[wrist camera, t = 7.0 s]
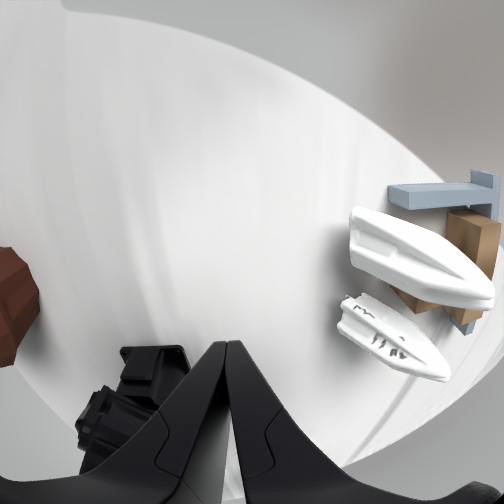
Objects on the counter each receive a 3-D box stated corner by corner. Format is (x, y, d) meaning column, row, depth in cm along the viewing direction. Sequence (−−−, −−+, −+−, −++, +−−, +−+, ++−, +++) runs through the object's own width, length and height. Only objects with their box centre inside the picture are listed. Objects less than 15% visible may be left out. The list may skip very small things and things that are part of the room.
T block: (456, 295, 22) (481, 317, 18) (386, 314, 23) (408, 344, 18) (468, 209, 19) (501, 223, 15) (393, 218, 19) (425, 236, 15)
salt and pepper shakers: (327, 204, 17) (502, 240, 8) (365, 193, 19) (511, 218, 10) (333, 350, 21) (443, 416, 12) (365, 327, 23) (468, 378, 14)
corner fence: (457, 318, 24) (472, 332, 21) (377, 342, 24) (388, 362, 21) (478, 169, 18) (500, 175, 15) (387, 169, 18) (408, 174, 15)
